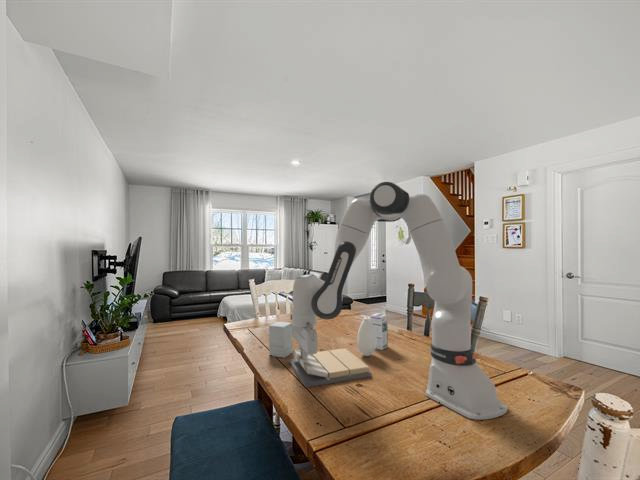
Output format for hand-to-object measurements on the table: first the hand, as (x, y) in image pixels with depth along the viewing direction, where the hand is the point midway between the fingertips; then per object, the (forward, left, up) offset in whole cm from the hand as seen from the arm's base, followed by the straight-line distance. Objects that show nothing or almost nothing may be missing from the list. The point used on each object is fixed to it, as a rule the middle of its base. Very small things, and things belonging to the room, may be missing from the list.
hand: (303, 358), depth 108 cm
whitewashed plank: (0, -2, -2) cm, 3 cm away
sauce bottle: (+7, -29, -5) cm, 30 cm away
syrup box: (+14, -39, -5) cm, 42 cm away
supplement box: (+21, +4, -5) cm, 22 cm away
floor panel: (0, -9, -5) cm, 10 cm away
